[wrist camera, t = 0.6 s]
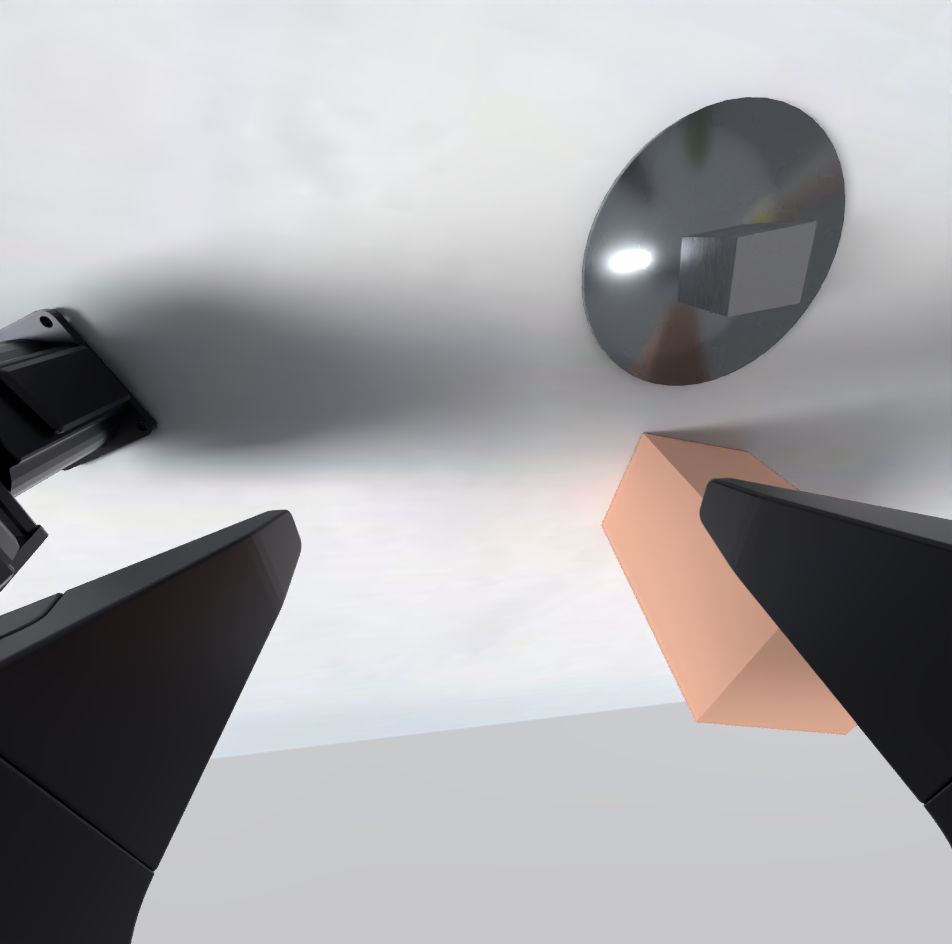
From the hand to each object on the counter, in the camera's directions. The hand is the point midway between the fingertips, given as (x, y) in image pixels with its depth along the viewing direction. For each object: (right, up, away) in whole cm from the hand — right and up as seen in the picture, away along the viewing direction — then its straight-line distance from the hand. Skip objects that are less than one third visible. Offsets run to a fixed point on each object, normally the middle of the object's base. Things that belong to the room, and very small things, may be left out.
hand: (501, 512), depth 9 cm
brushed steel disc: (+10, +10, +9) cm, 17 cm away
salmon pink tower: (+11, 0, +16) cm, 19 cm away
